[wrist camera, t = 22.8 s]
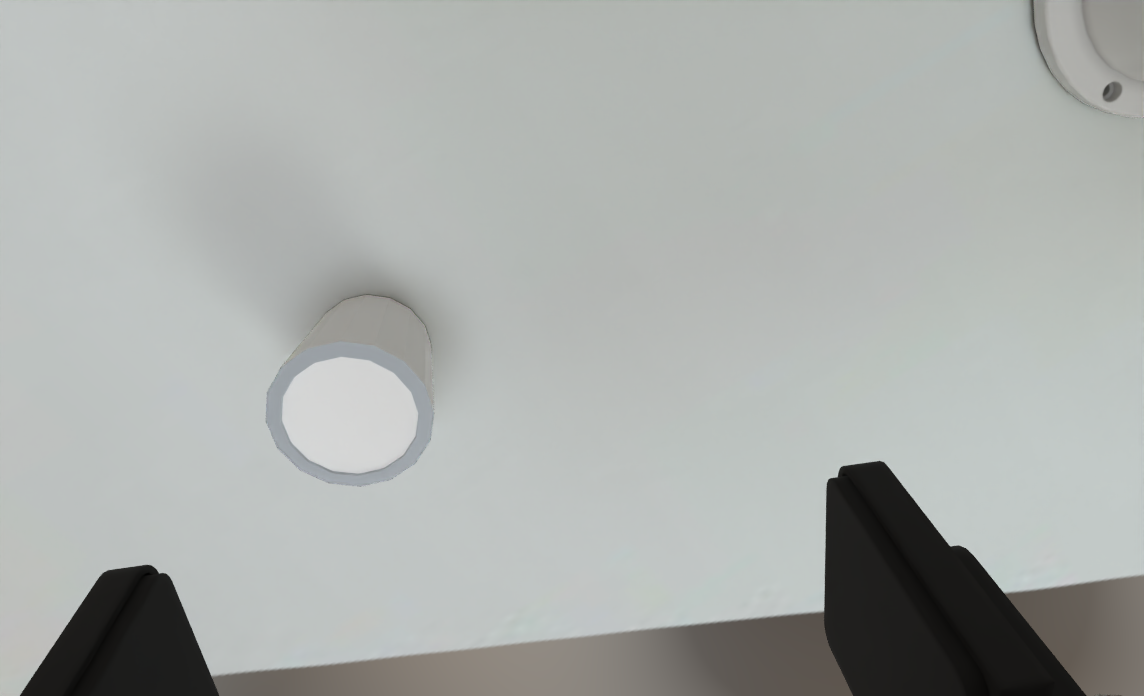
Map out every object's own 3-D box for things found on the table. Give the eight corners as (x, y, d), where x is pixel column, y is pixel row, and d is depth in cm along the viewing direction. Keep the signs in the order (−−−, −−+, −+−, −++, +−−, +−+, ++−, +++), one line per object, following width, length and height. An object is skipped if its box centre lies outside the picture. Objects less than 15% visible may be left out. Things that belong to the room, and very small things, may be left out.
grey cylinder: (402, 259, 38) (383, 315, 32) (467, 378, 41) (462, 451, 35) (273, 317, 39) (230, 383, 33) (346, 429, 42) (319, 511, 36)
